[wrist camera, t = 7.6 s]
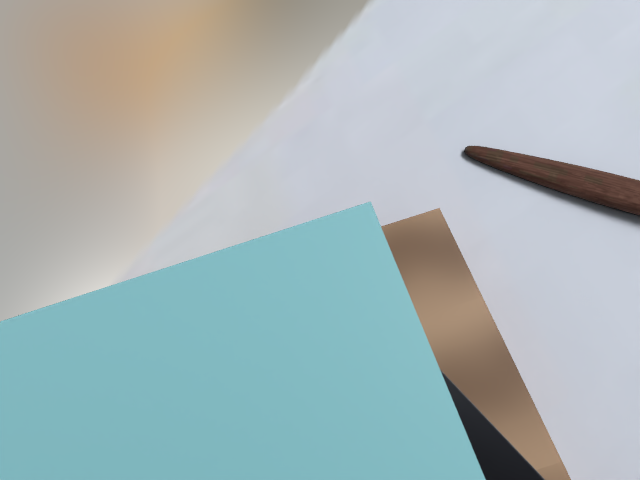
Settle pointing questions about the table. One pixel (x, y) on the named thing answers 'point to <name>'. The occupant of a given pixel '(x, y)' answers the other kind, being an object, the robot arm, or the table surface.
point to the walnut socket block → (468, 336)
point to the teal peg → (236, 371)
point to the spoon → (565, 177)
